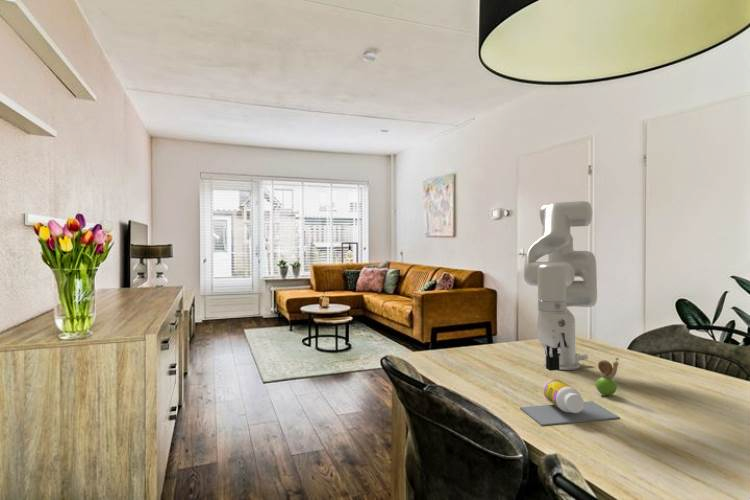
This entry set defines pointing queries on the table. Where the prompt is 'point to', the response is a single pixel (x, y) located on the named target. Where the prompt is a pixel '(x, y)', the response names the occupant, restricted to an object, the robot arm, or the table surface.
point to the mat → (568, 414)
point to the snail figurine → (607, 377)
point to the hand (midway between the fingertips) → (552, 369)
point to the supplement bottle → (563, 396)
